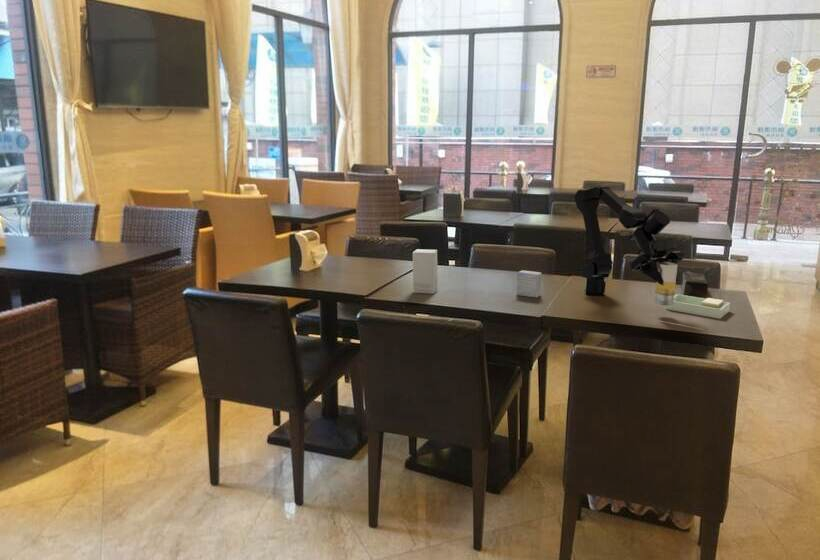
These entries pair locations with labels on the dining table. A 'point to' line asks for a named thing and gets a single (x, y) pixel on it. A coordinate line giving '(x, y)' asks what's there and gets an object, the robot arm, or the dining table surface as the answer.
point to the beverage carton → (694, 285)
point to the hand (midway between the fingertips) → (669, 282)
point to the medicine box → (529, 283)
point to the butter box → (713, 303)
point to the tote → (697, 306)
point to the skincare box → (425, 271)
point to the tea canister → (666, 284)
